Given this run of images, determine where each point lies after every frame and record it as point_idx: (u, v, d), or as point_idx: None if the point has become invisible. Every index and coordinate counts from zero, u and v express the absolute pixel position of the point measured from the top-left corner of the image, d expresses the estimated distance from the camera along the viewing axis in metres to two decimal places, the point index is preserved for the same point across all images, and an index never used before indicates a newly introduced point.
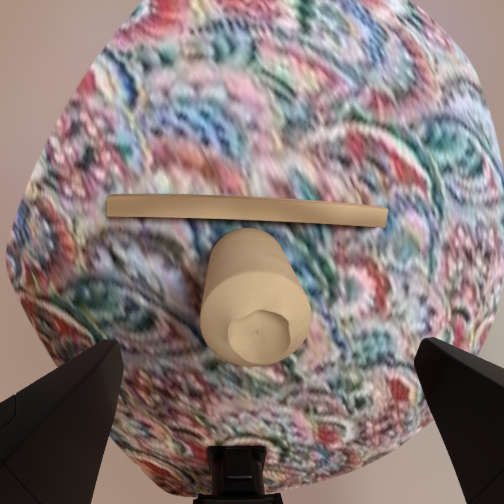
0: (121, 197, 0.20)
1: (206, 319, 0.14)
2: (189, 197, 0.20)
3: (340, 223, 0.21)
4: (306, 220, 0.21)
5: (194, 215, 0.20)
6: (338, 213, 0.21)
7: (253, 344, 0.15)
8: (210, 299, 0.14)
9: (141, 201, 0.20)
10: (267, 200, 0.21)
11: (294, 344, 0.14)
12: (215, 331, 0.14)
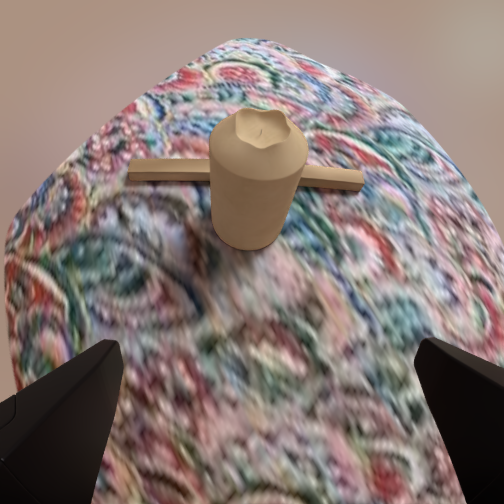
0: (143, 159, 0.24)
1: (216, 131, 0.16)
2: (198, 160, 0.25)
3: (324, 178, 0.25)
4: None
5: (202, 170, 0.24)
6: (320, 172, 0.25)
7: (258, 143, 0.15)
8: (220, 121, 0.17)
9: (159, 161, 0.24)
10: None
11: (296, 141, 0.16)
12: (224, 130, 0.16)
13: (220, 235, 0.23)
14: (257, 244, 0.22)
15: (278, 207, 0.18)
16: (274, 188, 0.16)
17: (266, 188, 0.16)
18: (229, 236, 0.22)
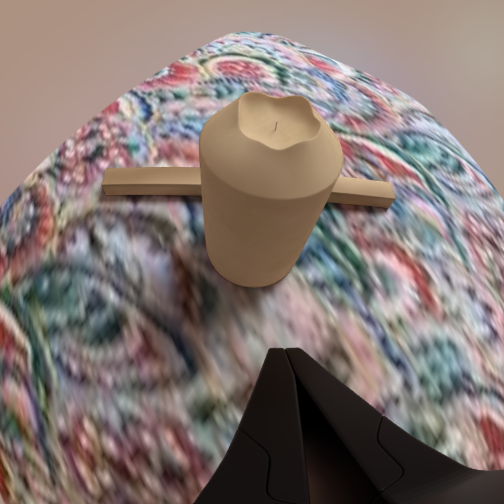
0: (121, 168, 0.19)
1: (209, 125, 0.11)
2: (190, 168, 0.20)
3: (348, 192, 0.20)
4: None
5: (193, 182, 0.19)
6: (343, 184, 0.20)
7: (272, 143, 0.10)
8: (216, 113, 0.11)
9: (140, 171, 0.19)
10: None
11: (328, 141, 0.10)
12: (220, 123, 0.10)
13: (217, 268, 0.17)
14: (266, 281, 0.17)
15: (298, 235, 0.13)
16: (296, 211, 0.11)
17: (285, 211, 0.11)
18: (229, 271, 0.16)
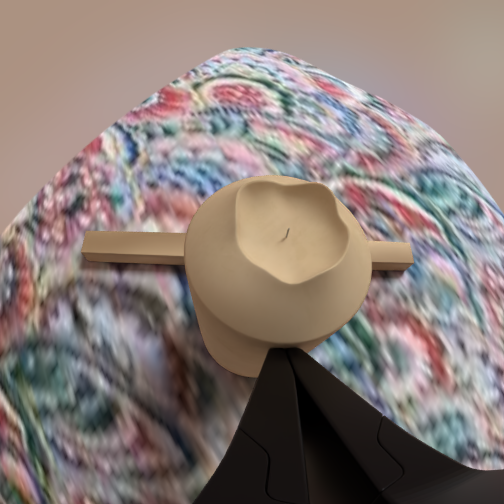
0: (102, 232, 0.17)
1: (196, 227, 0.08)
2: (181, 234, 0.17)
3: None
4: None
5: None
6: None
7: (282, 262, 0.08)
8: (206, 203, 0.09)
9: (124, 236, 0.17)
10: None
11: (357, 255, 0.08)
12: (211, 231, 0.08)
13: (214, 359, 0.15)
14: None
15: None
16: (311, 345, 0.08)
17: None
18: (228, 367, 0.14)
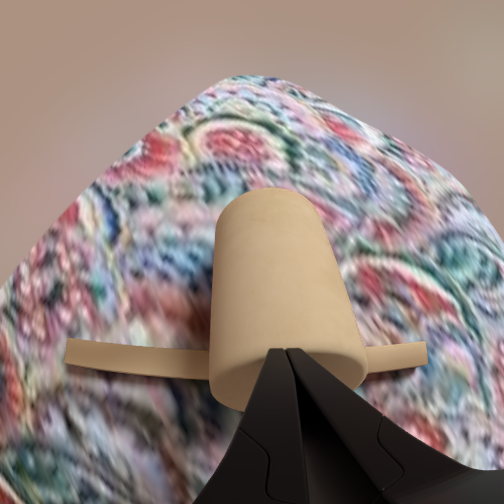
0: (85, 341, 0.14)
1: None
2: (171, 349, 0.15)
3: (374, 370, 0.15)
4: None
5: (178, 373, 0.14)
6: (369, 358, 0.15)
7: None
8: None
9: (109, 349, 0.14)
10: None
11: None
12: None
13: (250, 336, 0.09)
14: (339, 320, 0.09)
15: (325, 240, 0.13)
16: (306, 204, 0.14)
17: (298, 199, 0.14)
18: (274, 306, 0.09)
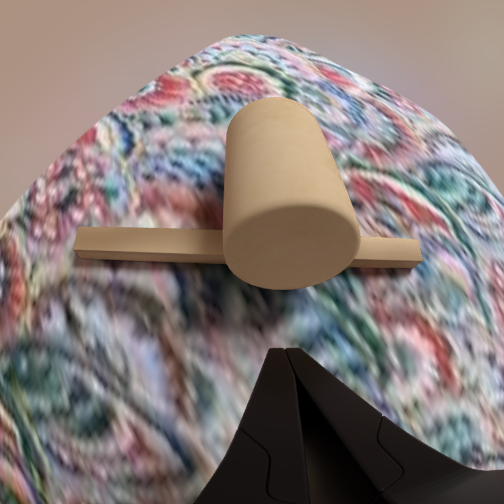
0: (95, 228, 0.16)
1: None
2: (178, 230, 0.16)
3: (370, 257, 0.16)
4: None
5: (182, 250, 0.16)
6: (364, 246, 0.17)
7: None
8: None
9: (118, 232, 0.16)
10: None
11: None
12: None
13: (268, 192, 0.11)
14: (339, 192, 0.11)
15: (325, 142, 0.14)
16: (310, 114, 0.15)
17: (304, 109, 0.15)
18: (288, 172, 0.11)
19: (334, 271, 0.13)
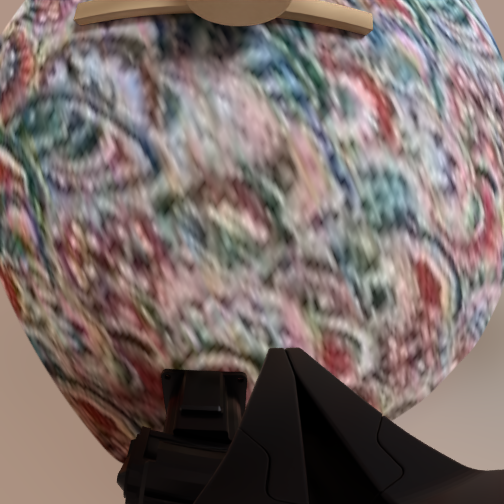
0: (92, 1, 0.13)
1: None
2: None
3: (320, 15, 0.15)
4: None
5: (161, 4, 0.14)
6: (316, 7, 0.15)
7: None
8: None
9: (110, 0, 0.13)
10: None
11: None
12: None
13: None
14: None
15: None
16: None
17: None
18: None
19: (274, 13, 0.13)
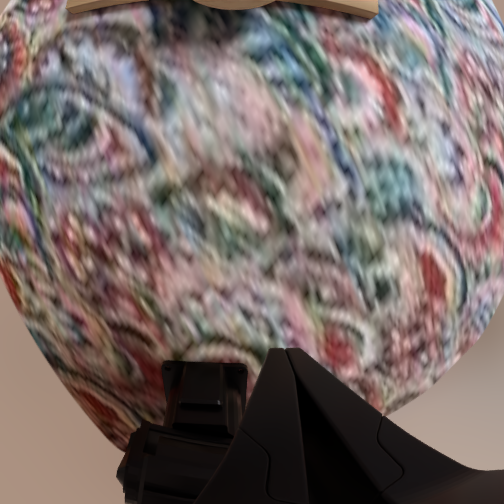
0: None
1: None
2: None
3: None
4: None
5: None
6: None
7: None
8: None
9: None
10: None
11: None
12: None
13: None
14: None
15: None
16: None
17: None
18: None
19: None
